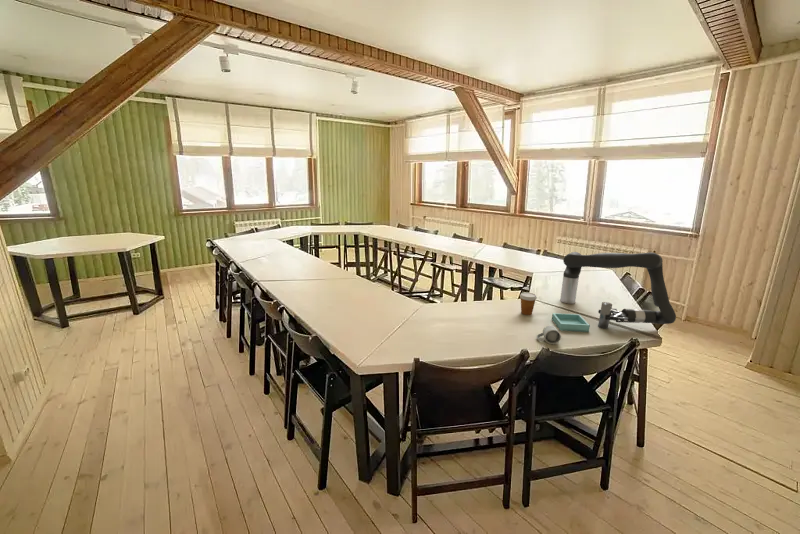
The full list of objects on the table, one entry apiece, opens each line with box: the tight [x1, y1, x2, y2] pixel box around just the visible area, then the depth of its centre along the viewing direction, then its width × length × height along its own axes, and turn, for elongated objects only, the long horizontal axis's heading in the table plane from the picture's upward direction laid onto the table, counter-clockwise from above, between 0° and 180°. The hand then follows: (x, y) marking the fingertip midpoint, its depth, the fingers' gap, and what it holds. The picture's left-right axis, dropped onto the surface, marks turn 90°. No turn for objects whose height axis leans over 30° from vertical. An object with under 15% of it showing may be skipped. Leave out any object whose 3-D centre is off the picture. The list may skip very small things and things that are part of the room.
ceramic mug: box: [536, 324, 562, 345], centre depth 183 cm, size 11×8×8 cm
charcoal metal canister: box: [597, 301, 613, 330], centre depth 197 cm, size 5×5×14 cm
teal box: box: [551, 312, 591, 333], centre depth 200 cm, size 15×15×4 cm
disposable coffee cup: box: [519, 291, 537, 316], centre depth 216 cm, size 10×10×12 cm
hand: (602, 314), depth 197 cm, fingers open, 8 cm apart
